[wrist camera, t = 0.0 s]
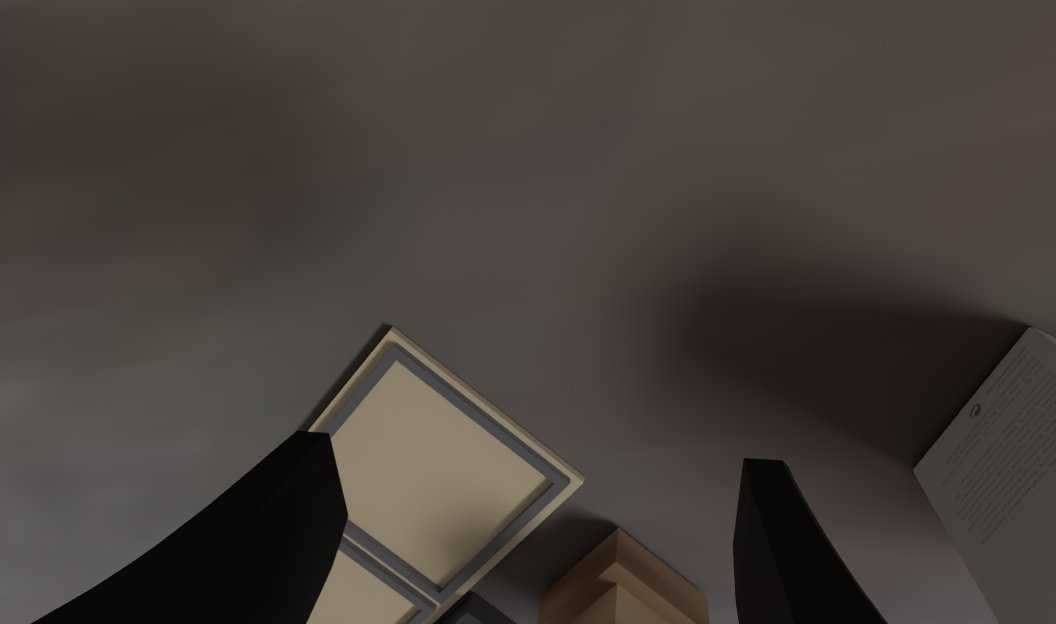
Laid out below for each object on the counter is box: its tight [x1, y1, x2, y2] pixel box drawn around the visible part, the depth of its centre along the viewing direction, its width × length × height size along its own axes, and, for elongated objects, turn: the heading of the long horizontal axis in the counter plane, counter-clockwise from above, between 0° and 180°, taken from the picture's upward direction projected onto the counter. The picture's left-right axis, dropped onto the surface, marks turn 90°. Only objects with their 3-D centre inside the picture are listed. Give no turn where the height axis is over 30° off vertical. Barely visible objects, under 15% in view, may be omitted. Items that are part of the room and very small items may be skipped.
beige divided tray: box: [307, 327, 585, 624], centre depth 28 cm, size 15×8×1 cm, turn 141°
